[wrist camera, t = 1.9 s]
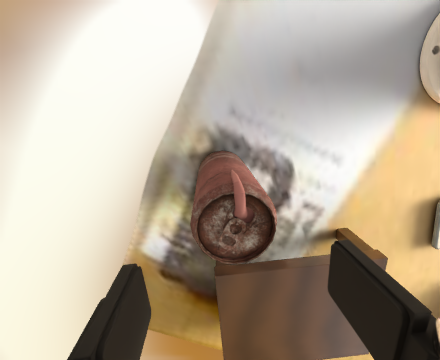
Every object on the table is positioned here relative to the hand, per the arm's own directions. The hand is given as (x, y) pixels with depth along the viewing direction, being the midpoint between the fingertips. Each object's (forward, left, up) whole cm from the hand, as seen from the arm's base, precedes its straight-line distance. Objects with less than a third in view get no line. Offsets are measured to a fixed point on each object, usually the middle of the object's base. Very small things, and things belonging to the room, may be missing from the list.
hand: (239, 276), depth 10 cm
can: (0, 0, -18) cm, 18 cm away
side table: (-8, +18, -18) cm, 27 cm away
